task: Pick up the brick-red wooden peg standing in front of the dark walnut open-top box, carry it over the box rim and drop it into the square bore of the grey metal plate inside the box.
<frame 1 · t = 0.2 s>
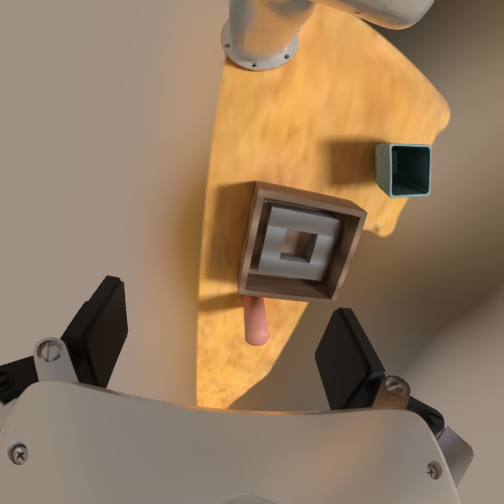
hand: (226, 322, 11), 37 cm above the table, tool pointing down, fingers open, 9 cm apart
open box: (294, 237, 50), on the table
flower pot: (385, 162, 44), on the table
peg: (253, 297, 55), on the table
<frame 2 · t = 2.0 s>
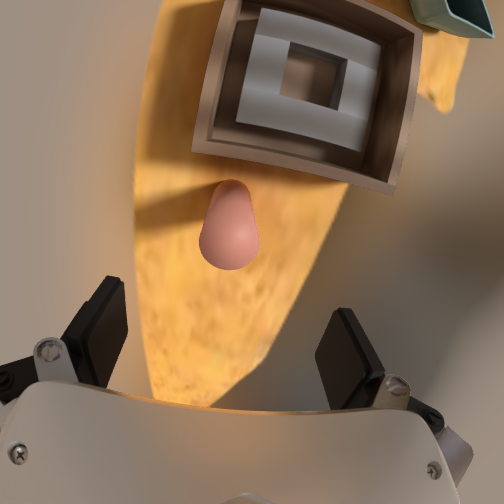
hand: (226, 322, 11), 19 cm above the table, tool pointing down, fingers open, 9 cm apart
open box: (304, 81, 24), on the table
flower pot: (423, 12, 18), on the table
peg: (231, 197, 29), on the table
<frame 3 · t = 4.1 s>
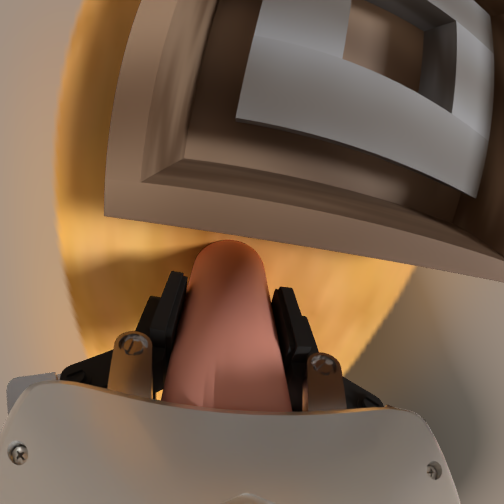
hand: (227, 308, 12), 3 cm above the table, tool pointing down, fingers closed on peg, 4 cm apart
open box: (370, 50, 10), on the table
peg: (228, 273, 15), on the table, touching gripper
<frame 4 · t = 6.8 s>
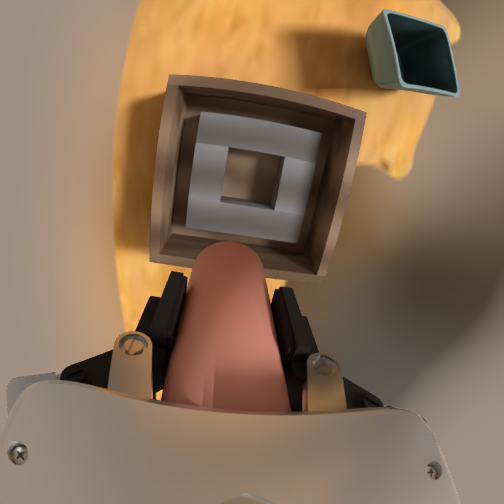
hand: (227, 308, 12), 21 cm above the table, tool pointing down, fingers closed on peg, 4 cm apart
open box: (250, 173, 30), on the table
flower pot: (384, 66, 25), on the table
peg: (228, 274, 15), point 17 cm above the table, touching gripper
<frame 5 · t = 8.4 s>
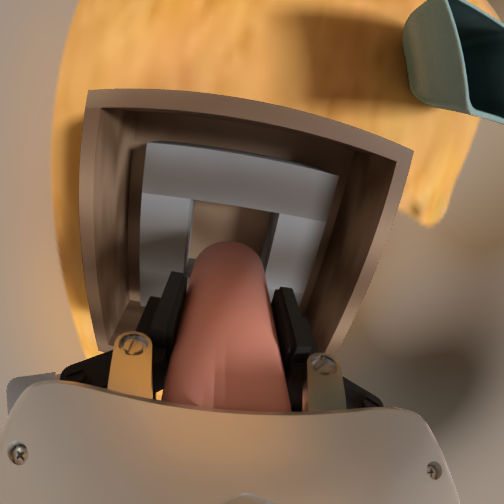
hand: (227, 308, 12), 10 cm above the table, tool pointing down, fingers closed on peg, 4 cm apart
open box: (229, 225, 21), on the table
flower pot: (424, 70, 16), on the table
peg: (228, 274, 15), point 7 cm above the table, touching gripper
when the fingers open (6 cm above the table, at t = 9.7 s): peg drops 1 cm, resting on open box.
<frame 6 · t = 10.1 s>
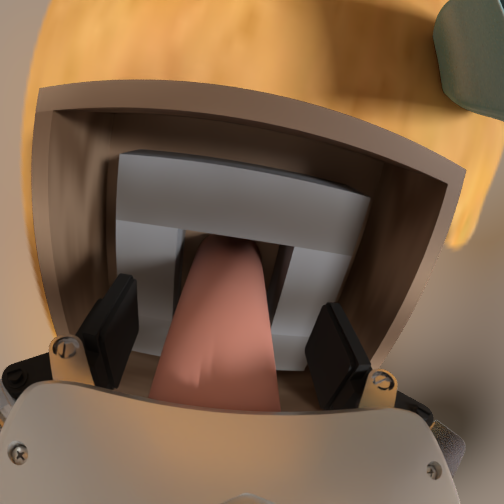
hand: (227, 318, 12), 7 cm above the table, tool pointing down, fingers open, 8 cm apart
open box: (229, 254, 17), on the table
flower pot: (455, 69, 12), on the table
peg: (228, 261, 16), point 1 cm above the table, touching open box
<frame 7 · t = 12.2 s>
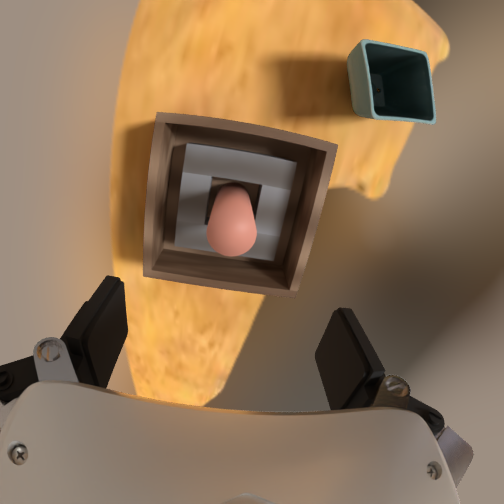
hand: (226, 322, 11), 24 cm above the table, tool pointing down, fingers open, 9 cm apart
open box: (232, 196, 33), on the table
flower pot: (365, 90, 28), on the table
peg: (232, 198, 32), point 1 cm above the table, touching open box
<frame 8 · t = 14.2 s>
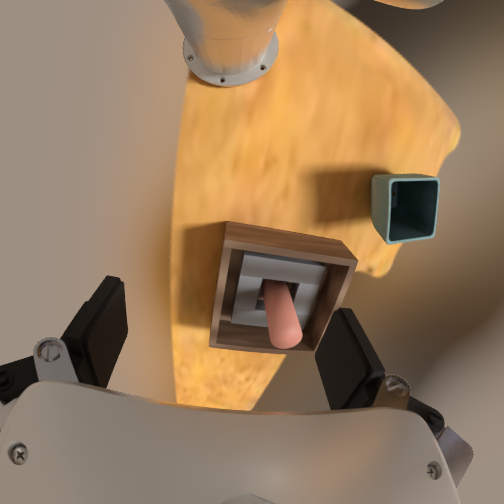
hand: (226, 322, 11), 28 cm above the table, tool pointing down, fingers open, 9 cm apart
open box: (273, 282, 44), on the table
flower pot: (382, 193, 39), on the table
peg: (274, 285, 43), point 1 cm above the table, touching open box
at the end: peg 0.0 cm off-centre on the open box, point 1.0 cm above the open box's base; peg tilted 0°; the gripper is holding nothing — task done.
